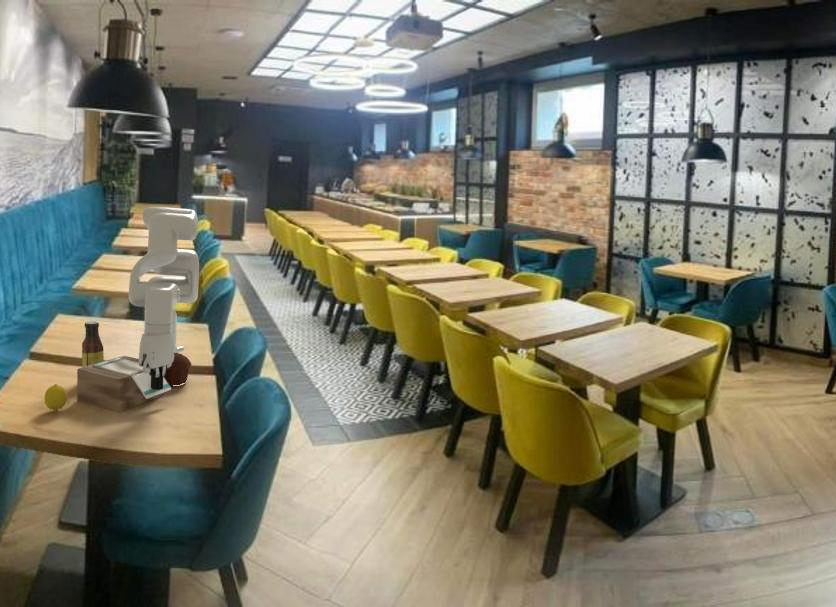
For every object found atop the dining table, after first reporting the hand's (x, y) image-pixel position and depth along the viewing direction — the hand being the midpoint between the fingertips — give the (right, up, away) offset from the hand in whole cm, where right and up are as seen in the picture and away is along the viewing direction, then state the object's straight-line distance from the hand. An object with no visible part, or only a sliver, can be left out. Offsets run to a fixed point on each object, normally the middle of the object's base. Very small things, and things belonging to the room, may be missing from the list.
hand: (156, 388), depth 189 cm
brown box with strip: (-13, -4, +6) cm, 15 cm away
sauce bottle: (-28, 0, +18) cm, 33 cm away
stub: (-2, +1, +1) cm, 3 cm away
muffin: (-5, -2, +24) cm, 25 cm away
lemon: (-25, -6, -8) cm, 27 cm away
